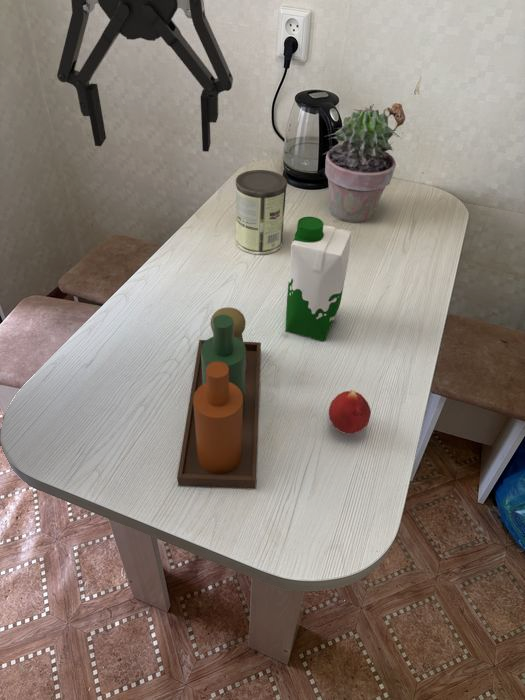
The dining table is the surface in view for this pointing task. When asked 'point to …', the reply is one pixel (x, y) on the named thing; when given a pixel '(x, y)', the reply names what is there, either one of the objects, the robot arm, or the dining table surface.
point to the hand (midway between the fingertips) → (153, 145)
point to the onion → (349, 412)
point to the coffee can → (260, 211)
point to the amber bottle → (218, 421)
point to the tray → (247, 468)
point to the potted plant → (361, 163)
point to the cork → (237, 321)
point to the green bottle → (225, 352)
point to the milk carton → (316, 277)
